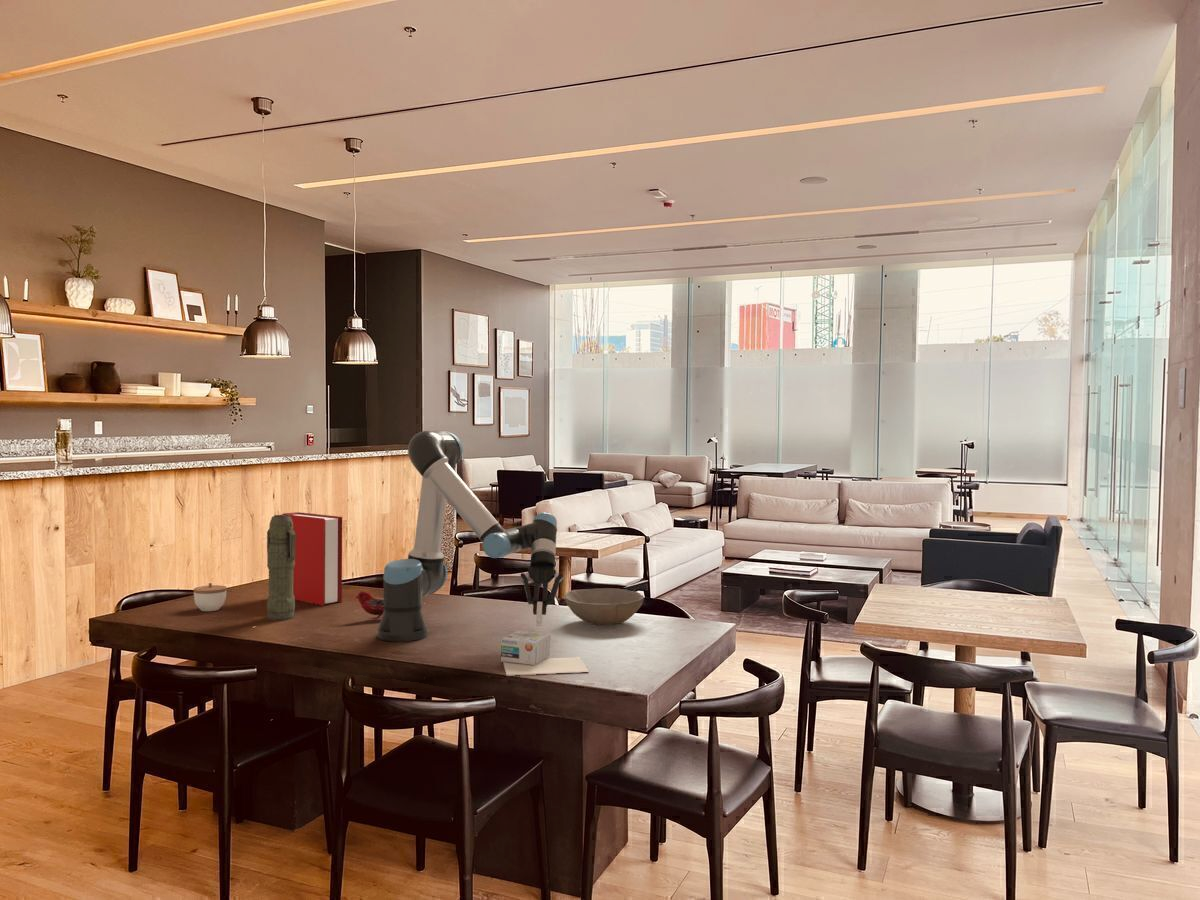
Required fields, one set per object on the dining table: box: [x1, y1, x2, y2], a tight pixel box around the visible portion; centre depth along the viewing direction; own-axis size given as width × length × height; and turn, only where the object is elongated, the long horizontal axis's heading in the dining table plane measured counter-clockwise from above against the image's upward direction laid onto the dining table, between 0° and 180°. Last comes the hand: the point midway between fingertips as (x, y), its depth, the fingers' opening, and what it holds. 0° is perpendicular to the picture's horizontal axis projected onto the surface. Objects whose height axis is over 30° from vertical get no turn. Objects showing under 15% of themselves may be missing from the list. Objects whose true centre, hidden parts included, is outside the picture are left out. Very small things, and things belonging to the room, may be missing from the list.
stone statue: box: [266, 514, 296, 621], centre depth 300 cm, size 9×12×35 cm
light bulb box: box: [500, 630, 551, 666], centre depth 248 cm, size 11×7×11 cm
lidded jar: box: [193, 582, 228, 612], centre depth 312 cm, size 11×11×9 cm
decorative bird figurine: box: [354, 590, 384, 620], centre depth 299 cm, size 3×18×10 cm, turn 108°
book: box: [281, 511, 343, 606], centre depth 332 cm, size 27×8×32 cm, turn 54°
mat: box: [502, 656, 590, 677], centre depth 241 cm, size 22×15×1 cm
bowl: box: [564, 587, 645, 627], centre depth 297 cm, size 26×26×10 cm
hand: (538, 623), depth 253 cm, fingers closed
